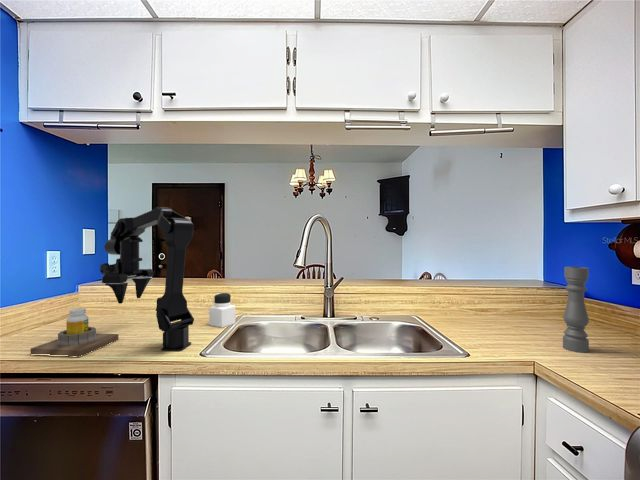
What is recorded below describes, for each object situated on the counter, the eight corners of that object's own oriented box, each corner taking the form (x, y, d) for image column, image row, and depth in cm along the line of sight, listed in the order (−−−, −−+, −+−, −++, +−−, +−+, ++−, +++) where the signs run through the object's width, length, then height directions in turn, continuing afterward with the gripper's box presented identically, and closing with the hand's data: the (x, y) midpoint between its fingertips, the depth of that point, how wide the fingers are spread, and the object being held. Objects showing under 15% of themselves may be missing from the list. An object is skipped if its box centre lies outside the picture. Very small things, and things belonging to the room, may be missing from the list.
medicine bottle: (235, 323, 124) (235, 293, 124) (221, 328, 118) (221, 296, 117) (223, 321, 127) (223, 291, 127) (208, 325, 121) (208, 294, 121)
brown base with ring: (118, 340, 103) (118, 324, 103) (79, 357, 88) (79, 339, 88) (75, 338, 105) (75, 323, 105) (30, 355, 90) (30, 338, 90)
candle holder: (563, 344, 101) (563, 266, 100) (588, 348, 97) (589, 267, 97) (562, 349, 96) (563, 267, 96) (589, 354, 92) (589, 269, 92)
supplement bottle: (68, 339, 97) (68, 308, 97) (89, 337, 100) (89, 306, 100) (64, 344, 93) (64, 312, 93) (87, 342, 95) (87, 310, 95)
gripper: (126, 253, 118) (126, 295, 118) (85, 256, 99) (85, 306, 100) (154, 254, 117) (154, 295, 117) (119, 257, 99) (119, 306, 99)
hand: (129, 300), depth 108 cm, fingers open, 9 cm apart
